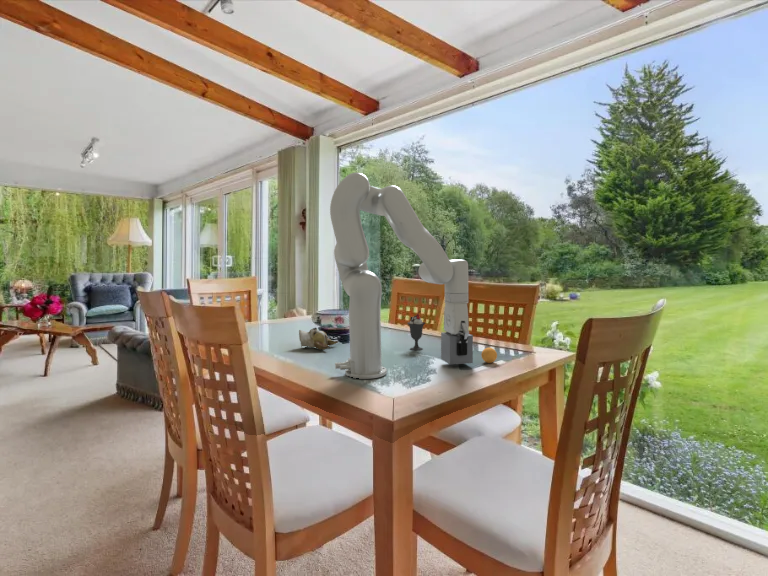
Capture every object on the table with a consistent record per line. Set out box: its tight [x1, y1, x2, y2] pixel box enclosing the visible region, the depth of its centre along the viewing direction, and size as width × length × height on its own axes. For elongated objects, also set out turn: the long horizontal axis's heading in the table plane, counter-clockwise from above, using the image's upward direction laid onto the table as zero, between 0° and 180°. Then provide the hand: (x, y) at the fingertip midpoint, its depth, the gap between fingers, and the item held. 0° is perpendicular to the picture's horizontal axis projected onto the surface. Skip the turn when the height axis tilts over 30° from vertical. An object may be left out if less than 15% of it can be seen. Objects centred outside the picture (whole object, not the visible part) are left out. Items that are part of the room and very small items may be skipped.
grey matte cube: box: [440, 331, 474, 365], centre depth 140 cm, size 8×8×9 cm
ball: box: [480, 347, 498, 364], centre depth 143 cm, size 5×5×5 cm
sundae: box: [407, 310, 426, 351], centre depth 165 cm, size 7×7×15 cm
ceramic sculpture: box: [298, 327, 339, 350], centre depth 170 cm, size 11×9×15 cm
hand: (456, 352), depth 140 cm, fingers closed on grey matte cube, 7 cm apart
